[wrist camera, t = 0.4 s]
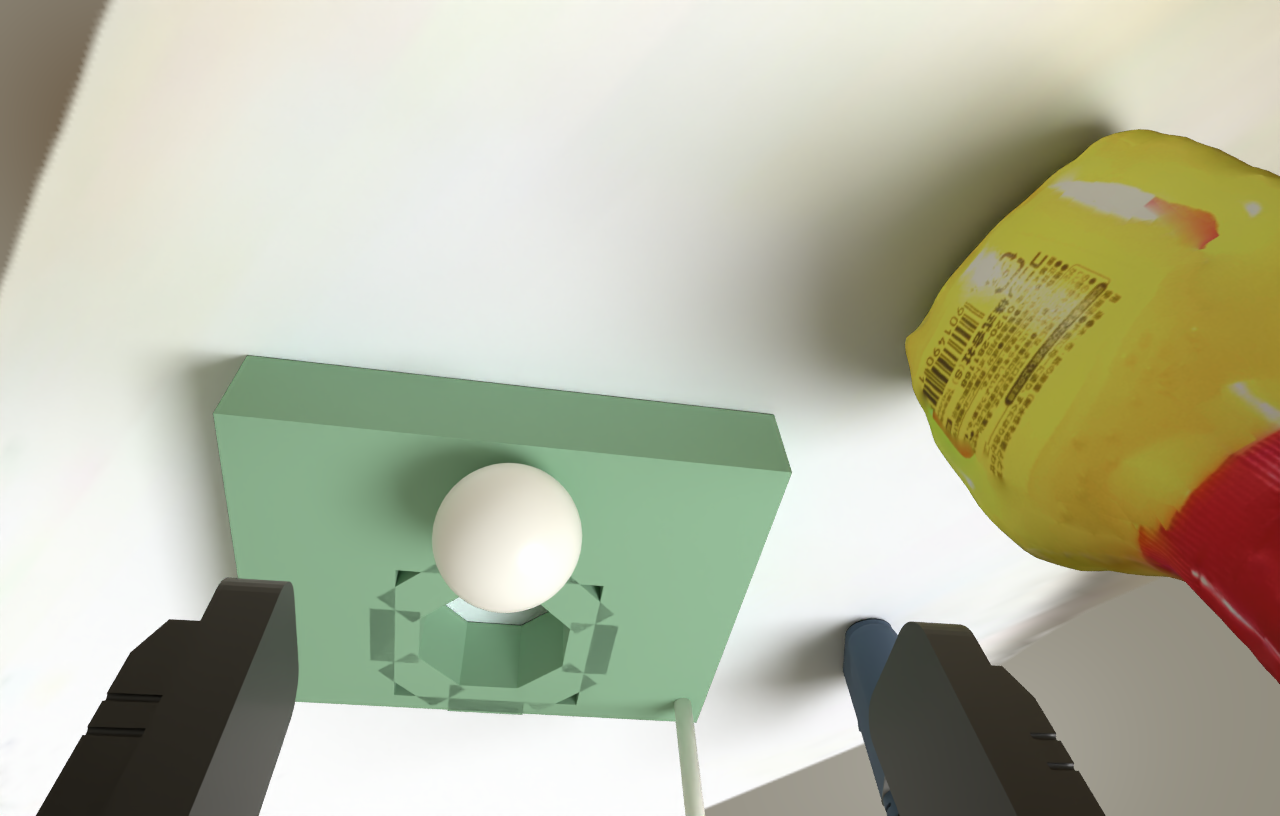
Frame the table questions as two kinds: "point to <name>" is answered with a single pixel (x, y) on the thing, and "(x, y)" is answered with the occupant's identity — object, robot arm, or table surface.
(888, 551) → the table surface
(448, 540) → the ball
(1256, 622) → the bottle
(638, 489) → the green
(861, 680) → the vaping device
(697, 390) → the table surface
